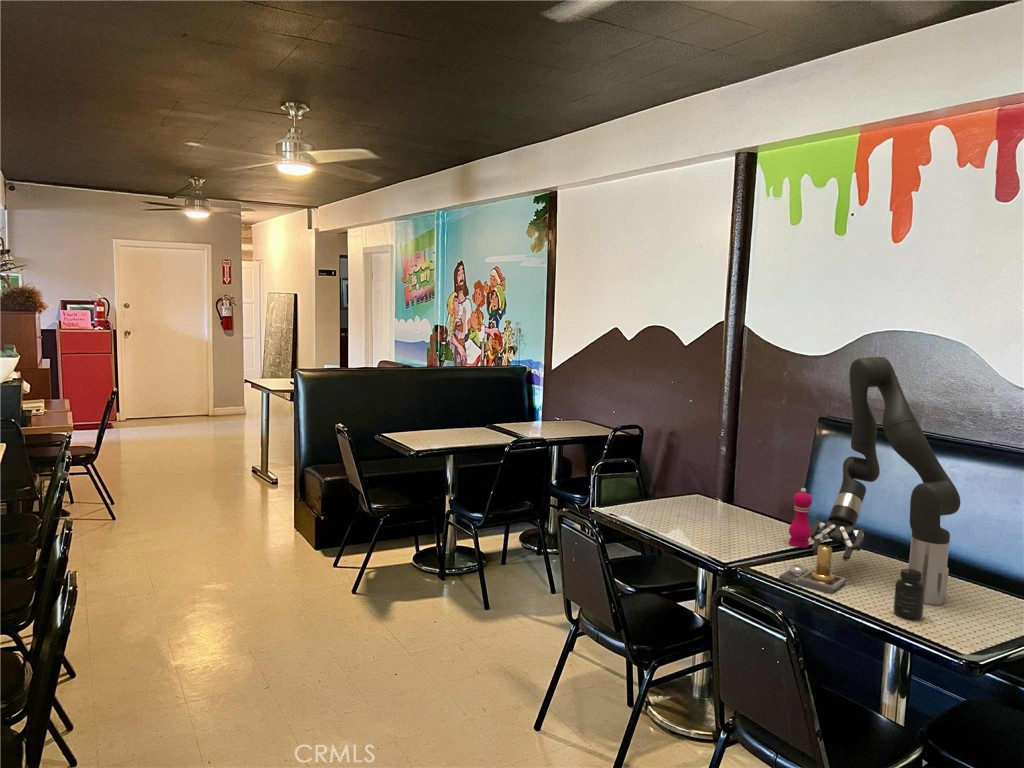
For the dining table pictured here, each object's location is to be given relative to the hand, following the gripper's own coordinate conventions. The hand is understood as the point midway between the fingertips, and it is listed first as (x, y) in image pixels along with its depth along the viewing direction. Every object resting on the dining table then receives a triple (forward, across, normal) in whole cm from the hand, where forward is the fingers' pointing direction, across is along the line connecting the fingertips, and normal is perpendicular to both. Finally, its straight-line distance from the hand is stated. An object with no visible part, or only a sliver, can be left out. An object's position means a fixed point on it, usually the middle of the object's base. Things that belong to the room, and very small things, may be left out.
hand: (829, 555), depth 214 cm
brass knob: (+8, 0, +1) cm, 8 cm away
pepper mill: (-15, -19, +26) cm, 36 cm away
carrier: (+9, -3, +2) cm, 9 cm away
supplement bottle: (+13, +24, -2) cm, 27 cm away
